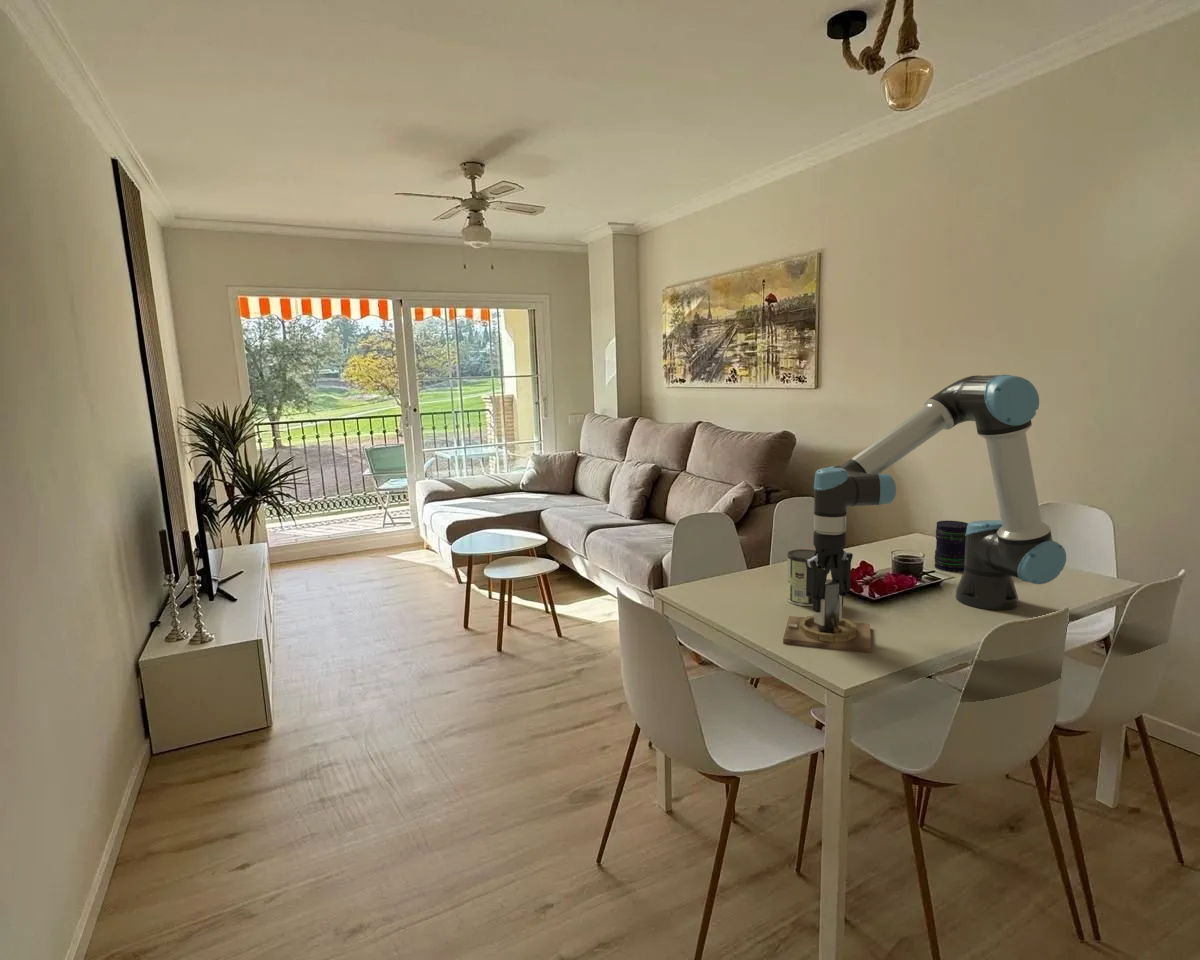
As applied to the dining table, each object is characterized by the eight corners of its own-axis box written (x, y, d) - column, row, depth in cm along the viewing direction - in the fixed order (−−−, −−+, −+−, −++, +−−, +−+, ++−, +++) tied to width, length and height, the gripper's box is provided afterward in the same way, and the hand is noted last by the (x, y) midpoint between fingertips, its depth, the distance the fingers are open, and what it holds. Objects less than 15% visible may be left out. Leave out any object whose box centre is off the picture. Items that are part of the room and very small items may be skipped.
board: (869, 628, 168) (869, 617, 168) (871, 653, 153) (871, 641, 153) (789, 620, 175) (789, 610, 175) (783, 643, 161) (783, 632, 160)
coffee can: (821, 595, 194) (822, 549, 192) (826, 607, 184) (827, 558, 182) (785, 594, 196) (786, 548, 194) (788, 606, 186) (788, 558, 184)
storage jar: (927, 564, 220) (929, 521, 218) (955, 562, 221) (957, 519, 219) (946, 573, 210) (948, 528, 208) (974, 571, 211) (977, 526, 209)
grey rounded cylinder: (823, 621, 169) (824, 576, 167) (847, 631, 161) (848, 585, 159) (808, 624, 167) (809, 579, 165) (832, 635, 159) (833, 588, 157)
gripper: (845, 523, 167) (843, 610, 171) (790, 533, 160) (789, 623, 163) (868, 529, 161) (865, 619, 164) (812, 539, 153) (811, 633, 157)
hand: (827, 621), depth 164 cm, fingers closed on grey rounded cylinder, 5 cm apart
